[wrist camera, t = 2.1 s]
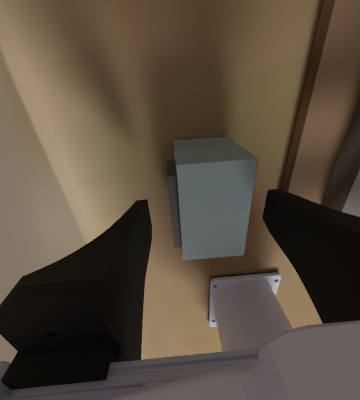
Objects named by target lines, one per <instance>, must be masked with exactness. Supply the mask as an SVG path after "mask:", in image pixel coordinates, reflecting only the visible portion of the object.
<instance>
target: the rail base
mask: <svg viewBox="0 0 360 400" xmlns="http://www.w3.org/2000/svg"><path fill="white" fill-rule="evenodd" d="M281 190H283V191H286V192H289V193H292V194H295V195H297V196H300V197H302V198H305V199H307V200H310V201H312V202H315V203H318V204H320V205H323V206H326V207H329V208H332V209H335V210H338V211H341V212H344V213H348V214H351V215H355V216H358V217H359V216H360V0H323V5H322V9H321V14H320V18H319V23H318V27H317V31H316V36H315V40H314V45H313V49H312V54H311V58H310V62H309V67H308V71H307V76H306V80H305V85H304V89H303V94H302V98H301V102H300V107H299V111H298V116H297V120H296V125H295V129H294V133H293V138H292V142H291V147H290V151H289V156H288V160H287V164H286V169H285V173H284V178H283V182H282V187H281Z"/></svg>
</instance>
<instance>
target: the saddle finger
mask: <svg viewBox="0 0 360 400" xmlns="http://www.w3.org/2000/svg"><path fill="white" fill-rule="evenodd" d="M173 145H174V158H175V161H167V177H168V187H169V197H170V208H171V218H172V228H173V239H174V247H182V254H183V261H184V260H196V259H207V258H219V257H230V256H242V255H244V250H245V243H246V237H247V230H248V223H249V216H250V209H251V203H252V196H253V189H254V182H255V175H256V168H257V162H258V159H257V158H256V157H255V156H253V155H252V154H251V153H249V152H248V151H246V150H245V149H244V148H242V147H241V146H240V145H238V144H237V143H235V142H234V141H233V140H231V139H230V138H229V137H227V136H226V137H212V138H198V139H185V140H173Z"/></svg>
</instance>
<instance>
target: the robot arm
mask: <svg viewBox="0 0 360 400" xmlns="http://www.w3.org/2000/svg"><path fill="white" fill-rule="evenodd" d="M263 220H264V222H265V224H266V226H267V228H268V230H269V232H270V233H271V235H272V236H273V238H274V239H275V241H276V242H277V244H278V245H279V246H280V248H281V249H282V251H283V252H284V253H285V255H286V256H287V258H288V259H289V261H290V262H291V264H292V265H293V267H294V268H295V270H296V272H297V273H298V275H299V277H300V279H301V281H302V282H303V284H304V286H305V288H306V290H307V292H308V294H309V296H310V298H311V300H312V302H313V304H314V306H315V308H316V310H317V312H318V314H319V316H320V319H321V321H322V323H323V324H317V325H307V326H303V327H298V328H294V329H293V328H292V326H291V325H290V323H289V321H288V319H287V317H286V315H285V313H284V311H283V310H282V308H281V306H280V304H279V302H278V300H277V298H276V293H277V290H278V286H279V283H280V280H281V275H280V273H278V272H275V273H263V274H252V275H241V276H230V277H218V278H212V279H211V280H210V305H209V325H210V326H211V327H217V328H218V332H219V337H220V342H221V346H222V351H223V352H215V353H205V354H195V355H185V356H175V357H165V358H155V359H145V360H141V344H142V320H143V301H144V286H145V276H146V270H147V264H148V259H149V253H150V247H151V239H152V225H151V219H150V213H149V207H148V200H137V201H136V202H135V203H134V204H133V205H132V206H131V207H130V208H129V209H128V210H127V211H126V213H125V214H124V215H123V216H122V217H121V218H120V219H118V220H117V221H116V222H115V223H114V224H113V225H112V226H111V227H110V228H109V229H107V230H106V231H105V232H104V233H102V234H101V235H100V236H98V237H97V238H96V239H94V240H93V241H91V242H90V243H88V244H86V245H85V246H83V247H82V248H80V249H79V250H77V251H75V252H74V253H72V254H70V255H68V256H66V257H64V258H62V259H60V260H59V261H57V262H54V263H52V264H50V265H48V266H46V267H44V268H41V269H39V270H37V271H35V272H32V273H30V274H28V275H25V276H23V277H22V278H21V279H20V280H19V281H18V283H17V284H16V285H15V287H14V288H13V289H12V290H11V292H10V293H9V294H8V296H7V297H6V298H5V299H4V301H3V302H2V303H1V305H0V334H1V335H2V336H3V337H4V338H5V339H6V340H7V341H8V342H9V343H10V344H11V345H12V346H13V347H14V348H15V349H16V350H17V351H18V352H17V354H16V356H15V358H14V360H13V361H12V363H9V362H5V361H0V400H360V217H358V216H355V215H351V214H348V213H344V212H341V211H338V210H335V209H332V208H329V207H326V206H323V205H320V204H318V203H315V202H312V201H310V200H307V199H305V198H302V197H300V196H297V195H295V194H292V193H289V192H286V191H283V190H280V189H273V190H268V193H267V198H266V203H265V208H264V213H263Z"/></svg>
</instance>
